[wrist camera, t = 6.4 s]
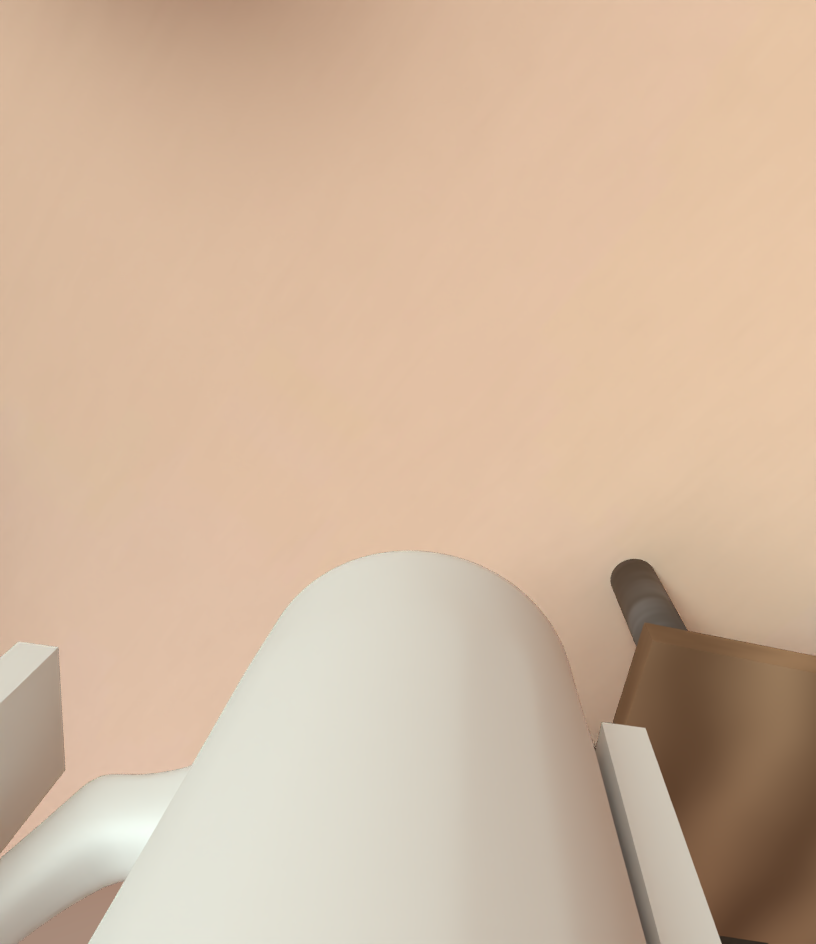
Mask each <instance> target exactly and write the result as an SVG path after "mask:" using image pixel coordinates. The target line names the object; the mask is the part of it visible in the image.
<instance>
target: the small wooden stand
mask: <svg viewBox="0 0 816 944" xmlns="http://www.w3.org/2000/svg"><path fill="white" fill-rule="evenodd" d="M611 586H612V588H613V591H614V593H615V595H616V598H617V600H618V603H619V605H620V608H621V610H622V613H623V615H624V618H625V620H626V622H627V625H628V627H629V630H630V632H631V635H632V637H633V640H634V642H635V644H636V650H635V653H634V657H633V660H632V663H631V666H630V669H629V673H628V676H627V679H626V682H625V685H624V688H623V692H622V695H621V698H620V701H619V704H618V708H617V711H616V714H615V717H614V720H613V724H620V725H628V726H635V727H642V728H646V731H647V734H648V737H649V740H650V743H651V745H652V748H653V751H654V754H655V757H656V759H657V762H658V765H659V768H660V771H661V774H662V776H663V779H664V782H665V785H666V788H667V791H668V793H669V796H670V799H671V802H672V805H673V808H674V810H675V813H676V816H677V819H678V822H679V824H680V827H681V830H682V833H683V836H684V839H685V841H686V844H687V847H688V850H689V853H690V856H691V858H692V861H693V864H694V867H695V870H696V873H697V875H698V878H699V881H700V884H701V887H702V889H703V892H704V895H705V898H706V901H707V904H708V906H709V909H710V912H711V915H712V918H713V921H714V923H715V926H716V929H717V932H718V935H719V936H725V937H732V938H739V939H745V940H752V941H758V942H765V943H768V944H816V656H812V655H807V654H802V653H797V652H792V651H787V650H782V649H777V648H772V647H767V646H762V645H757V644H752V643H747V642H742V641H736V640H731V639H726V638H721V637H716V636H711V635H706V634H701V633H696V632H691V631H688V630H687V629H686V627H685V625H684V623H683V621H682V620H681V618H680V616H679V614H678V612H677V611H676V609H675V607H674V605H673V603H672V602H671V600H670V598H669V596H668V594H667V593H666V591H665V589H664V587H663V586H662V584H661V582H660V580H659V578H658V577H657V575H656V573H655V571H654V569H653V568H652V567H651V566H650V565H649V564H648V563H647V562H645V561H643V560H639V559H630V560H626V561H624V562H622V563H620V564H619V565H618V566H616V568H615V569H614V570H613V572H612V575H611ZM594 749H595V751H596V748H595V747H594Z"/></svg>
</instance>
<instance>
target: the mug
mask: <svg viewBox="0 0 816 944" xmlns="http://www.w3.org/2000/svg"><path fill="white" fill-rule="evenodd" d="M123 881H124V883H123V885H122V886H121V888H120V890H119V891H118V893H117V895H116V897H115V898H114V900H113V902H112V904H111V905H110V907H109V909H108V911H107V912H106V914H105V916H104V917H103V919H102V921H101V922H100V924H99V926H98V927H97V929H96V931H95V933H94V934H93V936H92V938H91V939H90V941H89V943H88V944H647V943H646V940H645V936H644V932H643V929H642V925H641V921H640V918H639V914H638V910H637V907H636V903H635V899H634V895H633V892H632V888H631V884H630V881H629V877H628V873H627V869H626V866H625V862H624V858H623V855H622V851H621V847H620V843H619V840H618V836H617V832H616V828H615V825H614V821H613V817H612V813H611V809H610V806H609V802H608V798H607V794H606V791H605V787H604V783H603V779H602V775H601V771H600V768H599V764H598V760H597V756H596V753H595V749H594V746H593V742H592V739H591V736H590V733H589V729H588V726H587V723H586V720H585V717H584V714H583V710H582V707H581V704H580V701H579V697H578V694H577V690H576V687H575V683H574V679H573V676H572V672H571V669H570V665H569V662H568V659H567V656H566V653H565V650H564V648H563V646H562V643H561V641H560V639H559V637H558V635H557V633H556V632H555V630H554V628H553V627H552V625H551V623H550V622H549V621H548V619H547V618H546V616H545V615H544V614H543V613H542V611H541V610H540V609H539V608H538V607H537V606H536V604H535V603H534V602H533V601H532V600H531V599H530V598H529V597H528V596H527V595H525V594H524V593H523V592H522V591H521V590H520V589H518V588H517V587H516V586H515V585H513V584H512V583H511V582H509V581H508V580H506V579H505V578H503V577H501V576H500V575H498V574H496V573H495V572H493V571H491V570H489V569H487V568H485V567H483V566H480V565H478V564H476V563H473V562H470V561H468V560H465V559H462V558H458V557H455V556H451V555H446V554H441V553H435V552H427V551H392V552H384V553H378V554H373V555H369V556H365V557H361V558H358V559H355V560H352V561H350V562H347V563H344V564H342V565H340V566H338V567H336V568H334V569H332V570H330V571H328V572H327V573H325V574H323V575H322V576H320V577H319V578H317V579H316V580H315V581H313V582H312V583H311V584H309V585H308V586H307V587H306V588H305V589H303V590H302V591H301V592H300V593H299V594H298V595H297V596H296V597H295V598H294V599H293V600H292V602H291V603H290V604H289V605H288V606H287V608H286V609H285V610H284V612H283V613H282V615H281V616H280V617H279V619H278V621H277V622H276V624H275V625H274V627H273V628H272V630H271V632H270V633H269V635H268V636H267V638H266V640H265V641H264V643H263V644H262V646H261V647H260V649H259V651H258V652H257V654H256V655H255V657H254V659H253V660H252V662H251V664H250V665H249V667H248V668H247V670H246V672H245V673H244V675H243V677H242V678H241V680H240V682H239V684H238V685H237V687H236V689H235V691H234V692H233V694H232V696H231V697H230V699H229V701H228V703H227V704H226V706H225V708H224V710H223V712H222V713H221V715H220V717H219V719H218V720H217V722H216V724H215V726H214V727H213V729H212V731H211V733H210V734H209V736H208V738H207V740H206V741H205V743H204V745H203V747H202V748H201V750H200V752H199V754H198V755H197V757H196V759H195V760H194V762H193V764H192V765H191V766H188V767H185V768H181V769H177V770H172V771H166V772H160V773H151V774H109V775H104V776H100V777H98V778H96V779H94V780H92V781H90V782H88V783H87V784H86V785H84V786H83V787H82V788H81V789H80V790H78V791H77V792H76V793H75V794H74V795H73V796H72V797H70V798H69V799H68V800H67V801H66V802H65V803H64V804H63V805H61V806H60V807H59V808H58V809H57V810H56V811H55V812H53V813H52V814H51V815H50V816H49V817H48V818H47V819H46V820H44V821H43V822H42V823H41V824H40V825H39V826H37V827H36V828H35V829H34V830H33V831H32V832H30V833H29V834H28V835H27V836H26V837H25V838H23V839H22V840H21V841H20V842H19V843H18V844H16V845H15V846H14V847H13V848H12V849H11V850H9V851H8V852H7V853H6V854H5V855H4V856H2V857H1V858H0V944H18V943H19V942H20V941H21V940H23V939H24V938H26V937H27V936H28V935H30V934H31V933H32V932H34V931H35V930H36V929H38V928H39V927H40V926H42V925H43V924H44V923H46V922H47V921H49V920H50V919H52V918H53V917H55V916H56V915H57V914H59V913H61V912H62V911H64V910H66V909H67V908H69V907H70V906H72V905H74V904H75V903H77V902H78V901H80V900H82V899H84V898H85V897H87V896H89V895H91V894H93V893H95V892H96V891H98V890H100V889H102V888H104V887H107V886H110V885H113V884H116V883H118V882H123Z"/></svg>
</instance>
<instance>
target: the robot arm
mask: <svg viewBox="0 0 816 944" xmlns="http://www.w3.org/2000/svg"><path fill="white" fill-rule="evenodd" d="M595 753H596V756H597V760H598V764H599V768H600V771H601V775H602V779H603V783H604V787H605V791H606V794H607V798H608V802H609V806H610V809H611V813H612V817H613V821H614V825H615V828H616V832H617V836H618V840H619V843H620V847H621V851H622V855H623V858H624V862H625V866H626V869H627V873H628V877H629V881H630V884H631V888H632V892H633V895H634V899H635V903H636V907H637V910H638V914H639V918H640V921H641V925H642V929H643V932H644V936H645V940H646V943H647V944H768V943H765V942H758V941H752V940H745V939H739V938H732V937H725V936H719V935H718V932H717V929H716V926H715V923H714V921H713V918H712V915H711V912H710V909H709V906H708V904H707V901H706V898H705V895H704V892H703V889H702V887H701V884H700V881H699V878H698V875H697V873H696V870H695V867H694V864H693V861H692V858H691V856H690V853H689V850H688V847H687V844H686V841H685V839H684V836H683V833H682V830H681V827H680V824H679V822H678V819H677V816H676V813H675V810H674V808H673V805H672V802H671V799H670V796H669V793H668V791H667V788H666V785H665V782H664V779H663V776H662V774H661V771H660V768H659V765H658V762H657V759H656V757H655V754H654V751H653V748H652V745H651V743H650V740H649V737H648V734H647V731H646V728H642V727H635V726H628V725H620V724H613V723H606V722H602V723H601V727H600V732H599V737H598V741H597V746H596V751H595ZM64 771H65V754H64V737H63V719H62V702H61V684H60V666H59V649H58V647H54V646H47V645H39V644H32V643H25V642H17V643H16V644H15V645H14V646H13V647H12V648H10V649H9V650H8V651H7V652H6V653H5V654H4V655H2V656H1V657H0V853H1V852H2V851H3V849H4V848H5V847H6V846H7V844H8V843H9V842H10V840H11V839H12V838H13V837H14V835H15V834H16V833H17V831H18V830H19V829H20V828H21V826H22V825H23V824H24V822H25V821H26V820H27V819H28V817H29V816H30V815H31V813H32V812H33V811H34V810H35V808H36V807H37V806H38V804H39V803H40V802H41V801H42V799H43V798H44V797H45V795H46V794H47V793H48V792H49V790H50V789H51V788H52V786H53V785H54V784H55V783H56V781H57V780H58V779H59V777H60V776H61V775H62V774H63V772H64Z"/></svg>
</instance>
